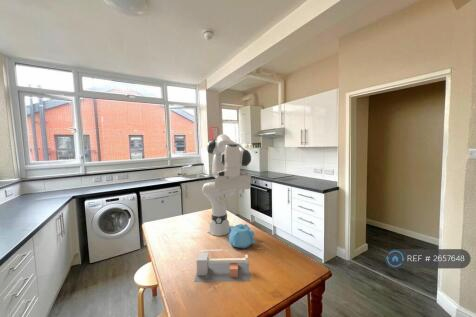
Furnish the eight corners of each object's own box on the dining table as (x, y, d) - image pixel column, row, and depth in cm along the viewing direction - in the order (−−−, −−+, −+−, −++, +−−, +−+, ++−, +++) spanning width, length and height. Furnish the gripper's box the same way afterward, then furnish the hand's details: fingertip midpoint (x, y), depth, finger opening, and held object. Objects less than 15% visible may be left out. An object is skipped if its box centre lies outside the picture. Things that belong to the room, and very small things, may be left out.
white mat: (200, 250, 120) (200, 249, 120) (222, 250, 121) (222, 249, 121) (196, 262, 108) (196, 261, 107) (221, 262, 108) (221, 261, 108)
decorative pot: (230, 252, 119) (230, 230, 118) (227, 240, 135) (227, 221, 134) (256, 249, 122) (256, 228, 121) (250, 238, 137) (249, 219, 137)
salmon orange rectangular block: (230, 264, 104) (230, 257, 104) (237, 264, 104) (237, 257, 104) (229, 277, 94) (229, 269, 94) (237, 276, 94) (237, 268, 94)
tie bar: (201, 261, 100) (201, 255, 100) (247, 260, 100) (247, 254, 100) (200, 264, 97) (200, 258, 97) (247, 263, 97) (247, 257, 97)
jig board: (199, 263, 107) (199, 248, 106) (248, 262, 107) (248, 247, 107) (194, 284, 91) (193, 266, 90) (250, 282, 91) (250, 264, 91)
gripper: (250, 171, 110) (250, 195, 111) (215, 172, 110) (215, 196, 110) (251, 172, 104) (251, 198, 104) (213, 173, 104) (214, 198, 104)
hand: (232, 197), depth 107 cm, fingers open, 8 cm apart
